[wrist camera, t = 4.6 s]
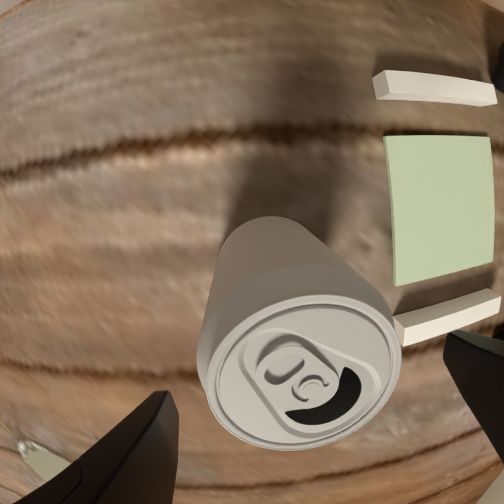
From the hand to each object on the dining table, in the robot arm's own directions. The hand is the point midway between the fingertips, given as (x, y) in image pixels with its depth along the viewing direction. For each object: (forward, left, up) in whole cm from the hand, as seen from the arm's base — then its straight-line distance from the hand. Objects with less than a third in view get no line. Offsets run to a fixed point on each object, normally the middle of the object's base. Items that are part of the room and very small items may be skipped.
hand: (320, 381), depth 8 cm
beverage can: (0, 0, -12) cm, 12 cm away
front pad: (+2, -13, -12) cm, 18 cm away
